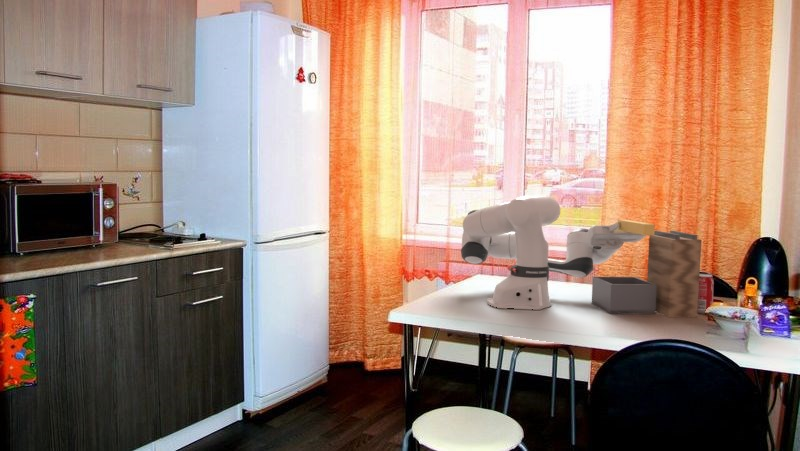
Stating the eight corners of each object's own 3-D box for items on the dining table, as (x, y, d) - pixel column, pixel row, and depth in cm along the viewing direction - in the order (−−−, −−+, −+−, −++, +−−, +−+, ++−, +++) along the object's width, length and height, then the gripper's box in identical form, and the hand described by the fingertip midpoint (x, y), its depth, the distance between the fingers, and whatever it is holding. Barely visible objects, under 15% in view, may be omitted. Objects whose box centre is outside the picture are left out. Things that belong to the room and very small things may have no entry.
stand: (668, 317, 212) (672, 235, 210) (645, 306, 228) (649, 230, 226) (696, 317, 213) (701, 235, 211) (672, 306, 229) (676, 230, 226)
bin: (609, 313, 215) (611, 284, 215) (591, 303, 231) (592, 276, 230) (655, 313, 217) (656, 284, 216) (634, 303, 233) (635, 276, 232)
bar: (644, 235, 206) (644, 224, 206) (617, 229, 226) (617, 219, 226) (654, 235, 206) (654, 224, 206) (626, 229, 226) (627, 219, 226)
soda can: (714, 314, 217) (717, 277, 216) (692, 313, 219) (694, 275, 218) (709, 310, 224) (711, 273, 223) (687, 309, 226) (689, 272, 224)
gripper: (639, 248, 235) (656, 232, 223) (585, 247, 233) (599, 232, 221) (635, 232, 238) (652, 216, 225) (582, 232, 236) (596, 215, 223)
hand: (625, 224), depth 223 cm, fingers closed on bar, 3 cm apart
